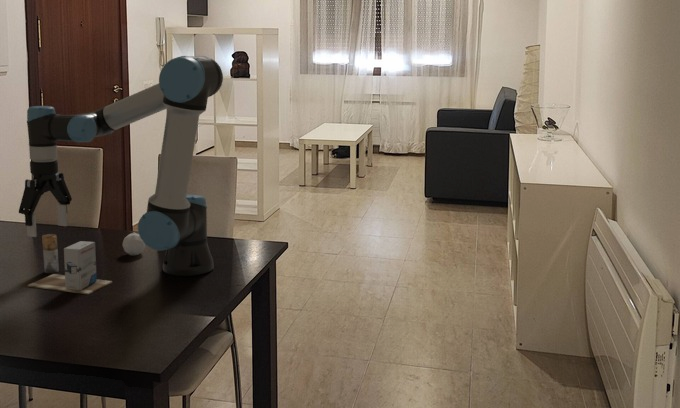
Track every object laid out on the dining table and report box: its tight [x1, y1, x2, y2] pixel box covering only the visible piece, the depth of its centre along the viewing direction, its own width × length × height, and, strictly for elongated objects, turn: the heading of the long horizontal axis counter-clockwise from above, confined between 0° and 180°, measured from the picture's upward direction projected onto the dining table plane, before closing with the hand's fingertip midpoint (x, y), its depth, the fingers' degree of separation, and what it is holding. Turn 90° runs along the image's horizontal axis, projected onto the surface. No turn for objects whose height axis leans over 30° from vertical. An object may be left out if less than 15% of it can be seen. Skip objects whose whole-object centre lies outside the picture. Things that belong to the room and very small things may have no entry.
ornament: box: [122, 231, 147, 256], centre depth 239 cm, size 7×7×8 cm
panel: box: [27, 273, 113, 295], centre depth 209 cm, size 20×11×1 cm, turn 73°
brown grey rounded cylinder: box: [41, 233, 60, 274], centre depth 220 cm, size 4×4×11 cm
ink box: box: [63, 240, 97, 290], centre depth 206 cm, size 9×5×12 cm, turn 167°
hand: (47, 230), depth 218 cm, fingers open, 13 cm apart
